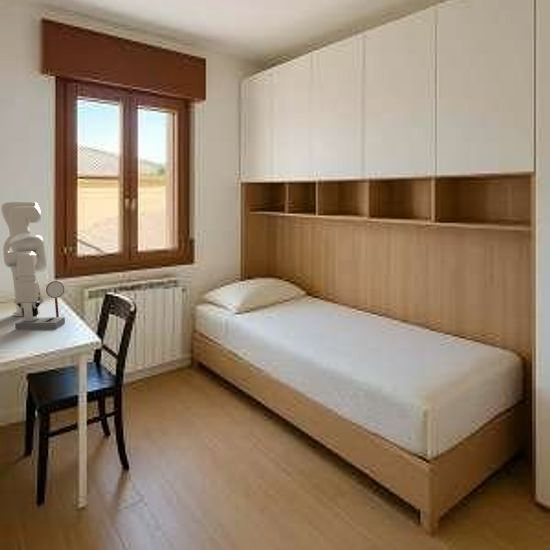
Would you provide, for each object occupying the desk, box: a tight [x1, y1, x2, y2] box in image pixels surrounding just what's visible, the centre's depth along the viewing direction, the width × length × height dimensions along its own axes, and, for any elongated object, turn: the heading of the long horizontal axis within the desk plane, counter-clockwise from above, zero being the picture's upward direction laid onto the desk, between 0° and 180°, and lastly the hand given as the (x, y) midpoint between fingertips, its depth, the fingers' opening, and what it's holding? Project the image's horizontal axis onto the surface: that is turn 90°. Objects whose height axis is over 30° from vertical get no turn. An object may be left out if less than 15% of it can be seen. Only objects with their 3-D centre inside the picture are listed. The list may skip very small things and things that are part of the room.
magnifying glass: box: [45, 280, 65, 317], centre depth 247 cm, size 9×2×20 cm, turn 126°
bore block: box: [14, 316, 66, 330], centre depth 236 cm, size 11×19×3 cm, turn 93°
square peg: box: [23, 303, 38, 322], centre depth 234 cm, size 4×4×10 cm
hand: (30, 315), depth 235 cm, fingers closed on square peg, 4 cm apart
